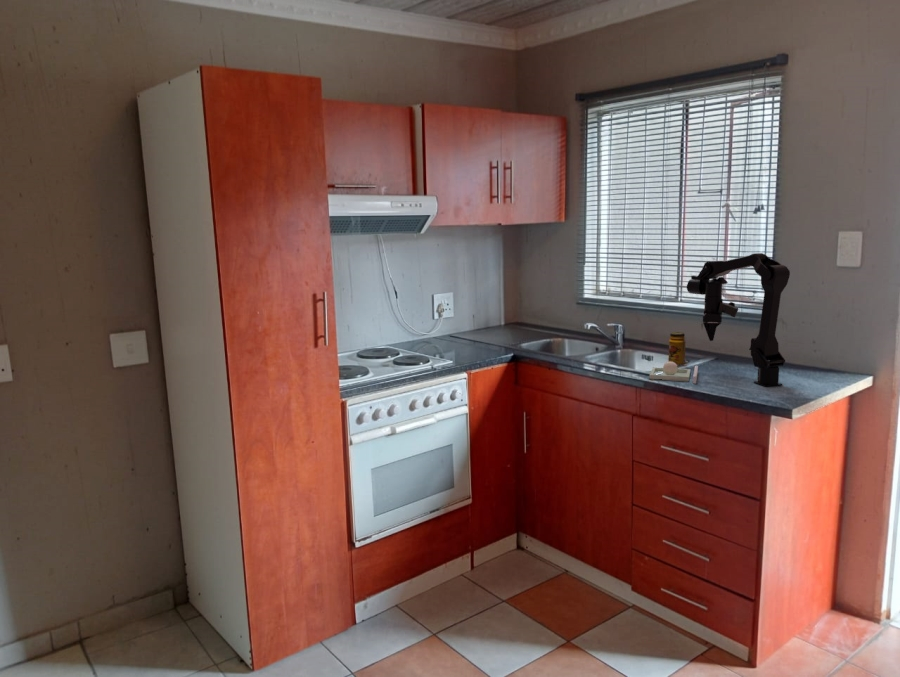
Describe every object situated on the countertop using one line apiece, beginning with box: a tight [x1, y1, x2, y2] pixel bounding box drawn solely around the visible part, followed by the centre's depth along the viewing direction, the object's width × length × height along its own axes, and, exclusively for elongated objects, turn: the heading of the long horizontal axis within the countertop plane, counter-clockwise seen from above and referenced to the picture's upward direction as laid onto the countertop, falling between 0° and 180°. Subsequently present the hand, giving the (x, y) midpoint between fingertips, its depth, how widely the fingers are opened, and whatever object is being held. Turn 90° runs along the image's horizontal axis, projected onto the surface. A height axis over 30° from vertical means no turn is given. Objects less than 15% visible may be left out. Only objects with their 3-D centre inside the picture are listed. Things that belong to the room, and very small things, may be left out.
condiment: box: [667, 331, 689, 367], centre depth 264 cm, size 7×8×12 cm
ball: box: [662, 360, 679, 375], centre depth 243 cm, size 5×5×5 cm
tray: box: [649, 367, 691, 382], centre depth 243 cm, size 13×13×2 cm
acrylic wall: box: [692, 365, 699, 384], centre depth 240 cm, size 18×1×2 cm, turn 159°
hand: (711, 338), depth 248 cm, fingers open, 9 cm apart
